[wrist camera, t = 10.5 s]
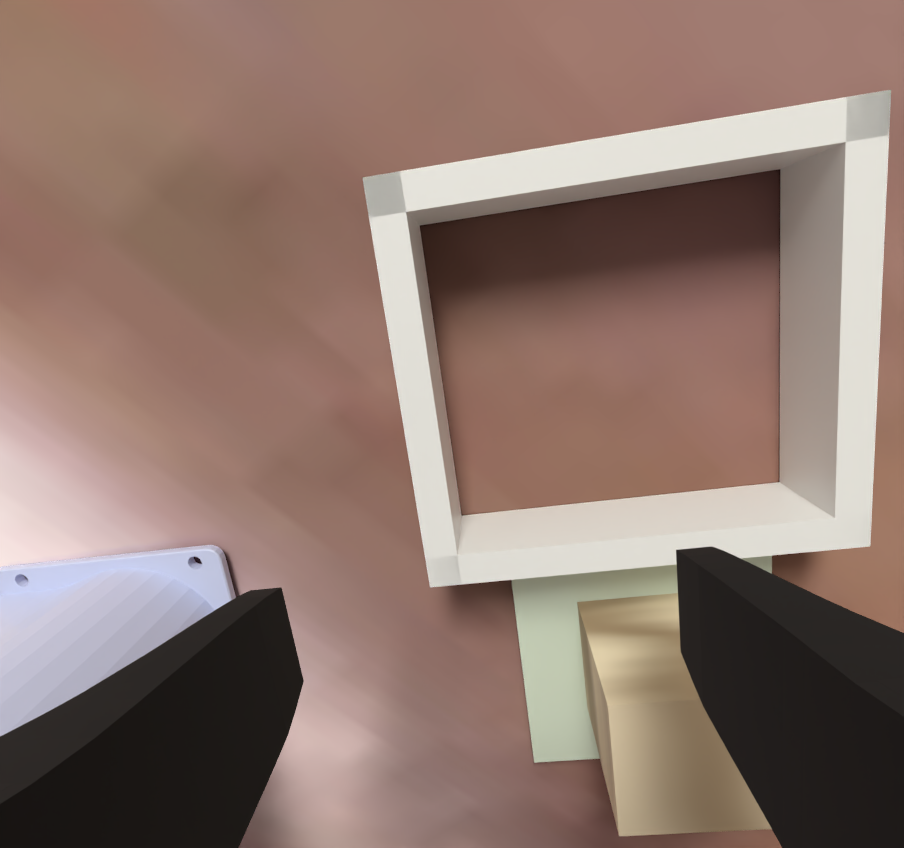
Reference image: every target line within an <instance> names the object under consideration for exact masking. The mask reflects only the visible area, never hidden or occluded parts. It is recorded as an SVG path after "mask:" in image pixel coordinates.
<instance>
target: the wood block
mask: <svg viewBox="0 0 904 848" xmlns="http://www.w3.org/2000/svg"><path fill="white" fill-rule="evenodd" d="M577 606H578V616H579V626H580V637H581V647H582V657H583V668H584V678H585V689H586V699H587V708H588V712H589V716H590V720H591V724H592V728H593V732H594V736H595V740H596V744H597V749H598V753H599V757H600V761H601V765H602V769H603V773H604V777H605V781H606V785H607V789H608V793H609V797H610V802H611V806H612V810H613V814H614V818H615V822H616V826H617V830H618V834H619V836H639V835H659V834H679V833H700V832H720V831H740V830H760V829H772V828H771V826H770V825H769V823H768V821H767V819H766V818H765V816H764V814H763V812H762V811H761V809H760V807H759V805H758V803H757V802H756V800H755V798H754V796H753V795H752V793H751V791H750V789H749V788H748V786H747V784H746V782H745V780H744V779H743V777H742V775H741V773H740V772H739V770H738V768H737V766H736V765H735V763H734V761H733V759H732V758H731V756H730V754H729V752H728V750H727V749H726V747H725V745H724V743H723V741H722V740H721V738H720V736H719V734H718V732H717V731H716V729H715V727H714V725H713V723H712V722H711V720H710V718H709V716H708V714H707V713H706V711H705V709H704V707H703V705H702V702H701V700H700V698H699V695H698V693H697V691H696V688H695V686H694V684H693V681H692V679H691V676H690V674H689V671H688V669H687V666H686V664H685V661H684V659H683V656H682V654H681V649H680V627H679V606H678V593H672V594H661V595H650V596H639V597H627V598H616V599H605V600H594V601H583V602H577Z"/></svg>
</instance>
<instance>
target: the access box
mask: <svg viewBox="0 0 904 848" xmlns="http://www.w3.org/2000/svg"><path fill="white" fill-rule="evenodd" d="M890 103H891V90H886V91H880V92H874V93H868V94H862V95H856V96H850V97H844V98H838V99H832V100H826V101H820V102H814V103H808V104H802V105H796V106H790V107H784V108H778V109H772V110H766V111H760V112H754V113H748V114H742V115H736V116H730V117H724V118H718V119H712V120H706V121H700V122H694V123H688V124H682V125H676V126H670V127H664V128H658V129H652V130H646V131H640V132H634V133H628V134H622V135H616V136H610V137H604V138H598V139H592V140H586V141H580V142H574V143H568V144H562V145H556V146H550V147H544V148H538V149H532V150H526V151H519V152H513V153H507V154H501V155H495V156H489V157H483V158H477V159H471V160H465V161H459V162H453V163H447V164H441V165H435V166H429V167H423V168H417V169H411V170H405V171H399V172H393V173H387V174H381V175H375V176H369V177H363V184H364V190H365V196H366V202H367V208H368V214H369V220H370V226H371V232H372V238H373V244H374V250H375V256H376V262H377V268H378V274H379V281H380V287H381V293H382V299H383V305H384V311H385V317H386V323H387V329H388V335H389V341H390V347H391V353H392V359H393V365H394V371H395V378H396V384H397V390H398V396H399V402H400V408H401V414H402V420H403V426H404V432H405V438H406V444H407V450H408V456H409V462H410V468H411V475H412V481H413V487H414V493H415V499H416V505H417V511H418V517H419V523H420V529H421V535H422V541H423V547H424V553H425V559H426V565H427V571H428V578H429V584H430V587H440V586H451V585H461V584H472V583H483V582H493V581H504V580H515V579H526V578H536V577H547V576H558V575H568V574H579V573H590V572H601V571H611V570H622V569H633V568H643V567H654V566H665V565H676V564H677V562H676V550H679V549H690V548H700V547H711V546H712V547H715V548H718V549H720V550H723V551H725V552H728V553H730V554H732V555H734V556H736V557H738V558H751V557H761V556H772V555H783V554H794V553H804V552H815V551H826V550H836V549H847V548H858V547H869V546H870V541H871V519H872V497H873V475H874V453H875V431H876V409H877V388H878V366H879V344H880V322H881V300H882V278H883V256H884V234H885V212H886V190H887V168H888V147H889V125H890ZM778 169H780V478H779V482H777V483H768V484H758V485H749V486H739V487H730V488H720V489H711V490H701V491H692V492H682V493H673V494H663V495H654V496H644V497H635V498H625V499H616V500H606V501H597V502H587V503H578V504H568V505H559V506H549V507H540V508H530V509H520V510H511V511H501V512H492V513H482V514H473V515H463V516H462V515H461V508H460V501H459V494H458V487H457V480H456V474H455V467H454V460H453V453H452V446H451V439H450V432H449V425H448V418H447V411H446V404H445V398H444V391H443V384H442V377H441V370H440V363H439V356H438V349H437V342H436V335H435V329H434V322H433V315H432V308H431V301H430V294H429V287H428V280H427V273H426V266H425V260H424V253H423V246H422V239H421V232H420V225H426V224H433V223H439V222H446V221H452V220H458V219H465V218H471V217H478V216H484V215H490V214H497V213H503V212H510V211H516V210H522V209H529V208H535V207H542V206H548V205H554V204H561V203H567V202H574V201H580V200H586V199H593V198H599V197H606V196H612V195H618V194H625V193H631V192H637V191H644V190H650V189H657V188H663V187H669V186H676V185H682V184H689V183H695V182H701V181H708V180H714V179H721V178H727V177H733V176H740V175H746V174H753V173H759V172H765V171H772V170H778Z"/></svg>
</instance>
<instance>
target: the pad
mask: <svg viewBox="0 0 904 848" xmlns="http://www.w3.org/2000/svg"><path fill="white" fill-rule="evenodd" d="M741 559H743V560H745V561H747V562H749V563H751V564H753V565H755V566H757V567H759V568H761V569H763V570H765V571H767V572H769V573H771V574H772V556H761V557H751V558H741ZM511 581H512V589H513V597H514V605H515V613H516V621H517V629H518V637H519V645H520V653H521V661H522V669H523V677H524V685H525V693H526V701H527V709H528V717H529V725H530V733H531V741H532V749H533V756H534V763H536V762H552V761H568V760H584V759H600V757H599V753H598V749H597V744H596V740H595V736H594V732H593V728H592V724H591V720H590V716H589V712H588V708H587V699H586V689H585V678H584V668H583V657H582V647H581V637H580V626H579V616H578V606H577V602H583V601H594V600H605V599H616V598H627V597H639V596H650V595H661V594H672V593H678V584H677V564H676V565H665V566H654V567H643V568H633V569H622V570H611V571H601V572H590V573H579V574H568V575H558V576H547V577H536V578H526V579H515V580H511Z"/></svg>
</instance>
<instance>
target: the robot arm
mask: <svg viewBox="0 0 904 848" xmlns="http://www.w3.org/2000/svg"><path fill="white" fill-rule="evenodd" d="M194 557H198V558H199V559H200V560H201V562H202V564H198V563H197V562H196V561H195V560H194ZM676 562H677V584H678V606H679V627H680V649H681V654H682V656H683V659H684V661H685V664H686V666H687V669H688V671H689V674H690V676H691V679H692V681H693V684H694V686H695V688H696V691H697V693H698V695H699V698H700V700H701V702H702V705H703V707H704V709H705V711H706V713H707V714H708V716H709V718H710V720H711V722H712V723H713V725H714V727H715V729H716V731H717V732H718V734H719V736H720V738H721V740H722V741H723V743H724V745H725V747H726V749H727V750H728V752H729V754H730V756H731V758H732V759H733V761H734V763H735V765H736V766H737V768H738V770H739V772H740V773H741V775H742V777H743V779H744V780H745V782H746V784H747V786H748V788H749V789H750V791H751V793H752V795H753V796H754V798H755V800H756V802H757V803H758V805H759V807H760V809H761V811H762V812H763V814H764V816H765V818H766V819H767V821H768V823H769V825H770V826H771V828H772V830H773V832H774V834H775V835H776V837H777V839H778V841H779V842H780V844H781V846H782V848H904V633H902V632H900V631H897V630H895V629H893V628H890V627H888V626H885V625H883V624H881V623H878V622H876V621H874V620H871V619H869V618H866V617H864V616H862V615H859V614H857V613H855V612H852V611H850V610H848V609H846V608H843V607H841V606H839V605H837V604H835V603H832V602H830V601H828V600H826V599H824V598H821V597H819V596H817V595H815V594H813V593H811V592H809V591H807V590H804V589H802V588H800V587H798V586H796V585H794V584H792V583H790V582H788V581H786V580H784V579H782V578H780V577H778V576H775V575H773V574H771V573H769V572H767V571H765V570H763V569H761V568H759V567H757V566H755V565H753V564H751V563H749V562H747V561H745V560H743V559H741V558H738V557H736V556H734V555H732V554H730V553H728V552H725V551H723V550H720V549H718V548H715V547H712V546H711V547H700V548H690V549H679V550H676ZM24 576H26V577H27V579H28V580H27V579H26V578H25V577H24ZM302 685H303V677H302V673H301V668H300V664H299V660H298V656H297V651H296V647H295V643H294V639H293V635H292V630H291V626H290V622H289V618H288V613H287V609H286V605H285V601H284V597H283V592H282V588H272V589H261V590H251V591H249V592H246V593H244V594H242V595H240V596H238V597H237V598H236V596H235V592H234V588H233V584H232V580H231V577H230V573H229V569H228V565H227V561H226V557H225V555H224V552H223V551H222V550H221V549H220V548H219V547H217V546H215V545H204V546H194V547H185V548H175V549H166V550H156V551H146V552H137V553H127V554H118V555H108V556H99V557H89V558H80V559H70V560H60V561H51V562H41V563H32V564H22V565H13V566H3V567H0V848H238V847H239V845H240V843H241V841H242V838H243V836H244V834H245V832H246V829H247V827H248V825H249V823H250V820H251V818H252V816H253V814H254V811H255V809H256V807H257V805H258V802H259V800H260V798H261V796H262V794H263V791H264V789H265V787H266V785H267V782H268V780H269V778H270V775H271V773H272V771H273V768H274V766H275V764H276V762H277V759H278V757H279V755H280V752H281V750H282V748H283V745H284V743H285V740H286V738H287V736H288V733H289V729H290V726H291V723H292V720H293V717H294V714H295V710H296V707H297V703H298V699H299V696H300V692H301V689H302Z"/></svg>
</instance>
